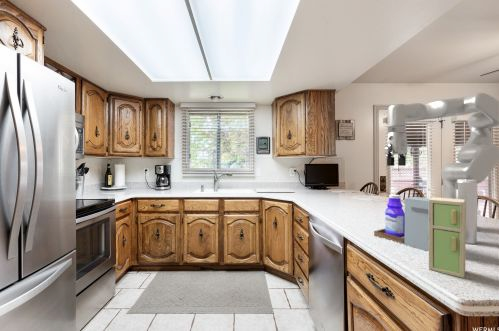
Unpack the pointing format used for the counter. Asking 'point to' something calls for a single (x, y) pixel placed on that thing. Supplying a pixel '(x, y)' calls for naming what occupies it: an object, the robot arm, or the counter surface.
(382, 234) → the tray
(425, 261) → the counter surface
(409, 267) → the counter surface
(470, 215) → the grey post
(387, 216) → the bottle
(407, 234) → the unit
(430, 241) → the toy refrigerator
